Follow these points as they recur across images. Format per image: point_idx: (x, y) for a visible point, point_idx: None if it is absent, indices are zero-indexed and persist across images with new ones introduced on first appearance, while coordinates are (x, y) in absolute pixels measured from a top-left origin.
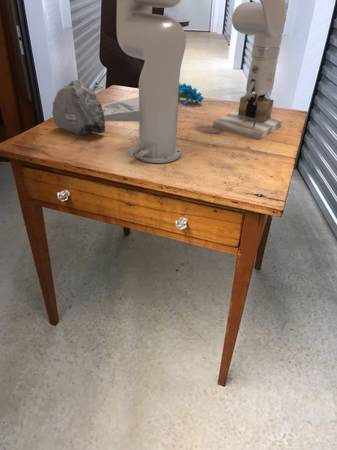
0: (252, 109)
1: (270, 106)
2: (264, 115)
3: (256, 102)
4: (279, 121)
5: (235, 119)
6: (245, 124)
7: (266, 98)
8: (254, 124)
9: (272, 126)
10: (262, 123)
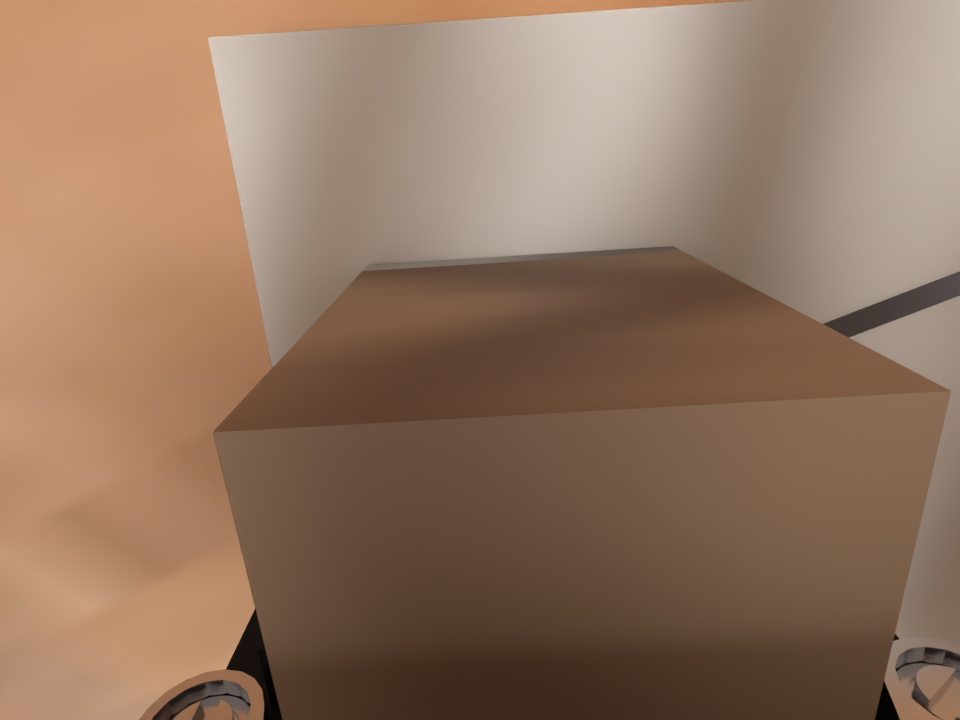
0: None
1: (461, 343)
2: (727, 281)
3: (909, 702)
4: (336, 45)
5: None
6: (950, 421)
7: (283, 696)
8: (866, 315)
9: (732, 3)
10: (707, 243)
